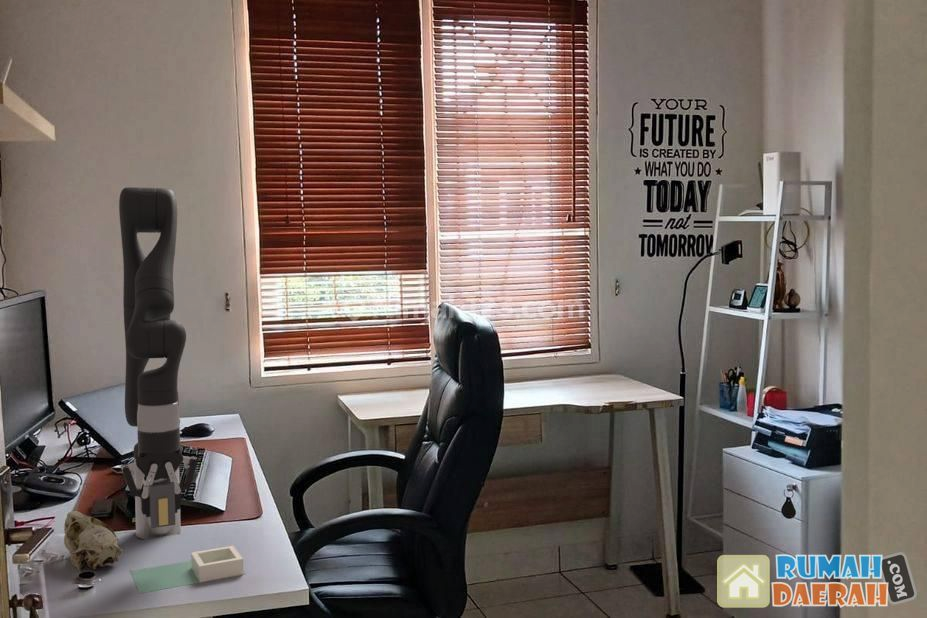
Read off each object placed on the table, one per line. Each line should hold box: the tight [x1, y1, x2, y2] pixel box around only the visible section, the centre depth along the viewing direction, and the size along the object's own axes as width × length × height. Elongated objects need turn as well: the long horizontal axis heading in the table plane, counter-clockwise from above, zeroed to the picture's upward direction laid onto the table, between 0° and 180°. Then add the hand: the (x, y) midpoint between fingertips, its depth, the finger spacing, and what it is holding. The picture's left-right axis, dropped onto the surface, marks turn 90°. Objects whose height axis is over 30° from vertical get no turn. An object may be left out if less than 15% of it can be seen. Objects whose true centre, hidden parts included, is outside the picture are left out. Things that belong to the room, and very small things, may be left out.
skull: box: [63, 510, 124, 572], centre depth 166 cm, size 10×16×10 cm, turn 50°
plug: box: [148, 479, 176, 528], centre depth 160 cm, size 5×4×8 cm
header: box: [190, 545, 244, 583], centre depth 161 cm, size 8×8×3 cm
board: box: [130, 560, 247, 595], centre depth 160 cm, size 12×19×1 cm, turn 118°
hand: (161, 513), depth 161 cm, fingers closed on plug, 4 cm apart
